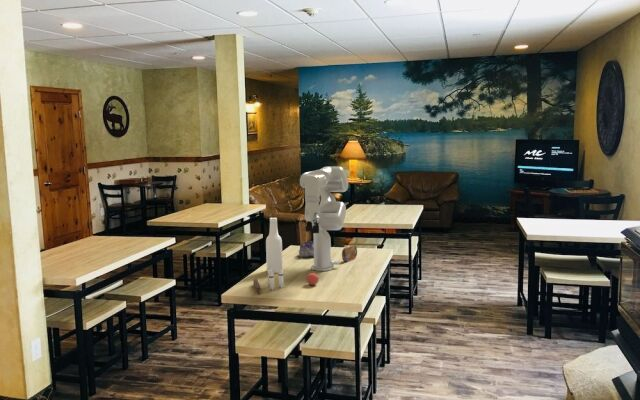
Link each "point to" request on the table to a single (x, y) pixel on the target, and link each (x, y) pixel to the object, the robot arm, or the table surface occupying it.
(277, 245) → the alcohol
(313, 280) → the ball
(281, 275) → the front pin
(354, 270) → the table surface
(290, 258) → the table surface
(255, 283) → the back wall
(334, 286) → the table surface
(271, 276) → the back pin left
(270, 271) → the back pin right
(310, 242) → the geode
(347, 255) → the brown rock slab
